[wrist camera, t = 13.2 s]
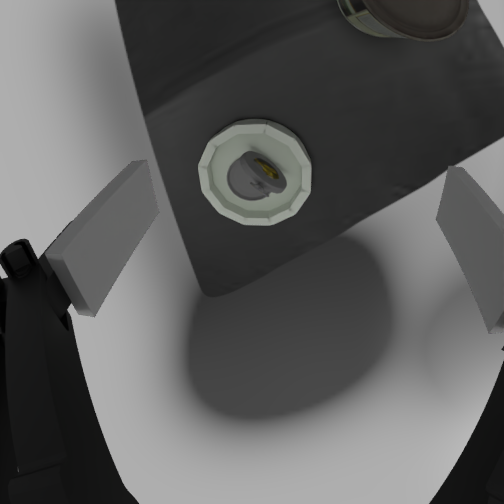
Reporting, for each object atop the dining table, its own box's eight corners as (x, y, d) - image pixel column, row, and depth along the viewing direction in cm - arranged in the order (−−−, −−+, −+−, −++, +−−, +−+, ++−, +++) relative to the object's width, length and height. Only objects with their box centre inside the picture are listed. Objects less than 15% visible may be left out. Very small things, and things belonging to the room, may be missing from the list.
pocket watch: (227, 195, 45) (211, 235, 38) (228, 140, 40) (209, 171, 32) (284, 201, 45) (280, 244, 37) (290, 146, 39) (288, 178, 32)
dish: (198, 121, 40) (192, 127, 37) (310, 118, 38) (311, 124, 35) (212, 213, 49) (207, 224, 47) (309, 215, 47) (309, 226, 44)
